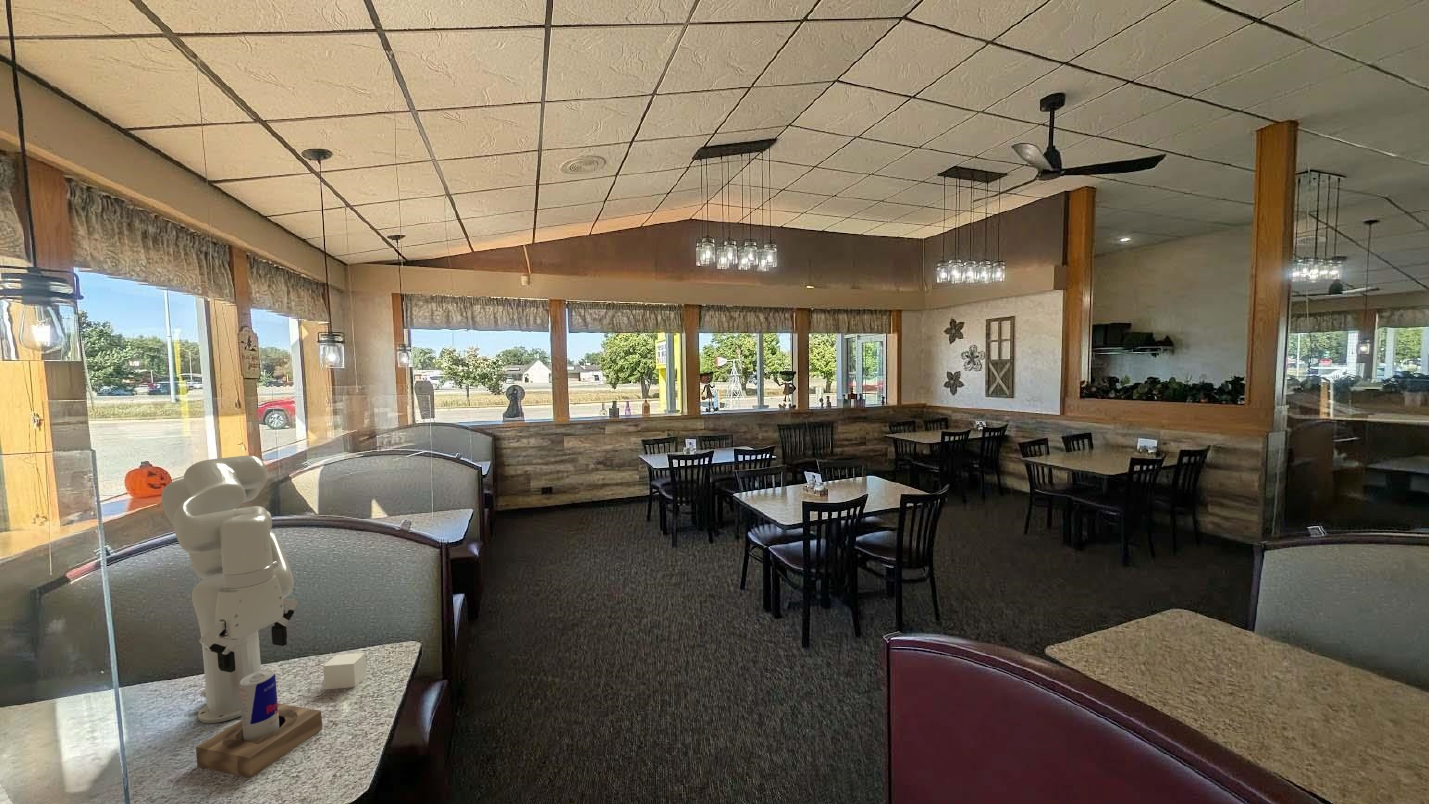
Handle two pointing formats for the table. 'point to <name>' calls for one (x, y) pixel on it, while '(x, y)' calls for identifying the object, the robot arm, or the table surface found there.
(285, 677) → the table surface
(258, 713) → the beverage can
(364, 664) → the white cube
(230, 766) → the holder
